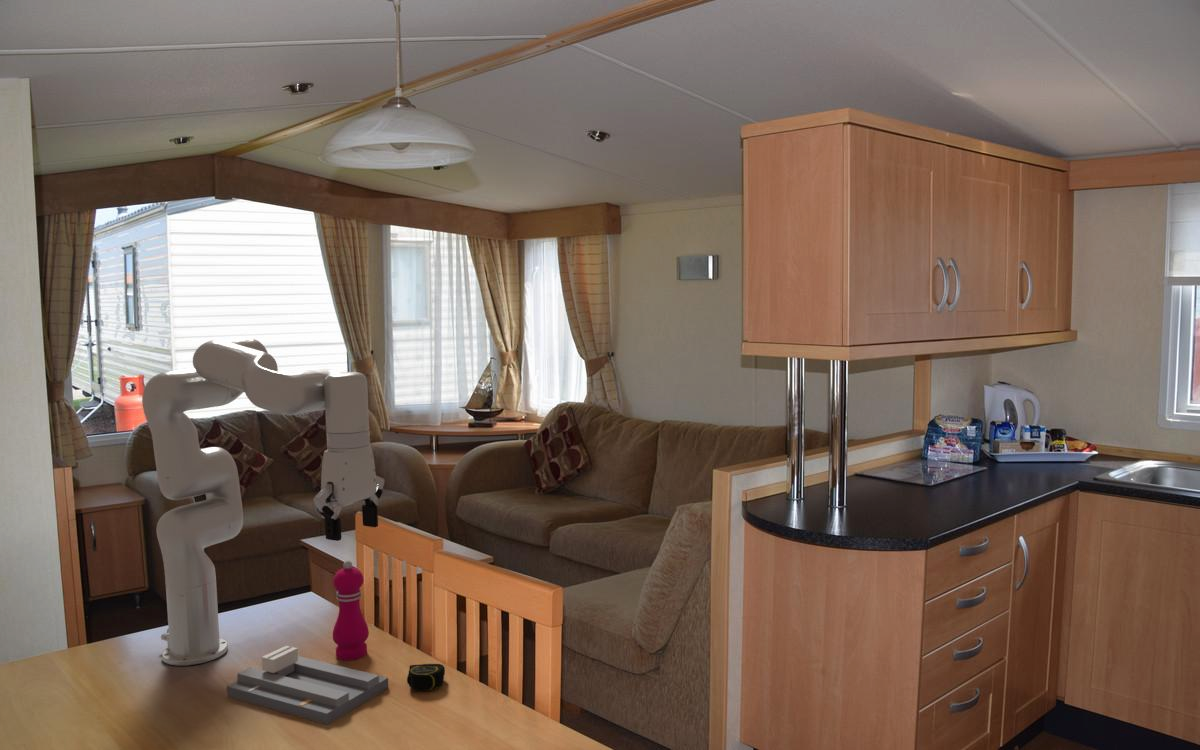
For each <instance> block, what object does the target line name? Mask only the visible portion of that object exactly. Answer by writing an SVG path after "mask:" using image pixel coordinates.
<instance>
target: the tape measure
mask: <svg viewBox="0 0 1200 750" xmlns="http://www.w3.org/2000/svg"><path fill="white" fill-rule="evenodd" d="M445 672H446V669H445V666H444V665H443V664H442V663H423V664H422V663H421V664H411V665H409V670H408V674H407V677H406V682H407V685H408V686H409V687H410V689H412V690H415V691H418V692H419V691H422V692H424V691H432V690H436V689H438V688H439V687H441V686H443V683H444V680H445V674H446V673H445Z"/></svg>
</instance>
